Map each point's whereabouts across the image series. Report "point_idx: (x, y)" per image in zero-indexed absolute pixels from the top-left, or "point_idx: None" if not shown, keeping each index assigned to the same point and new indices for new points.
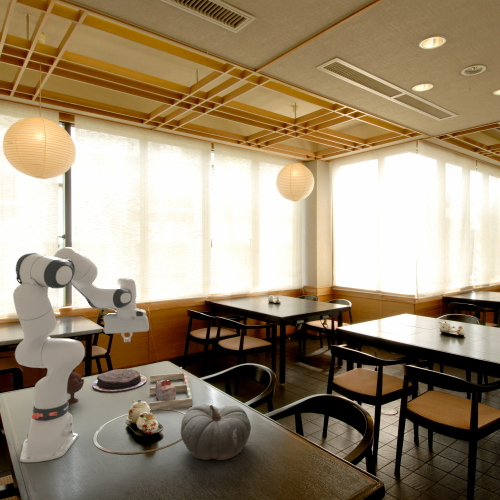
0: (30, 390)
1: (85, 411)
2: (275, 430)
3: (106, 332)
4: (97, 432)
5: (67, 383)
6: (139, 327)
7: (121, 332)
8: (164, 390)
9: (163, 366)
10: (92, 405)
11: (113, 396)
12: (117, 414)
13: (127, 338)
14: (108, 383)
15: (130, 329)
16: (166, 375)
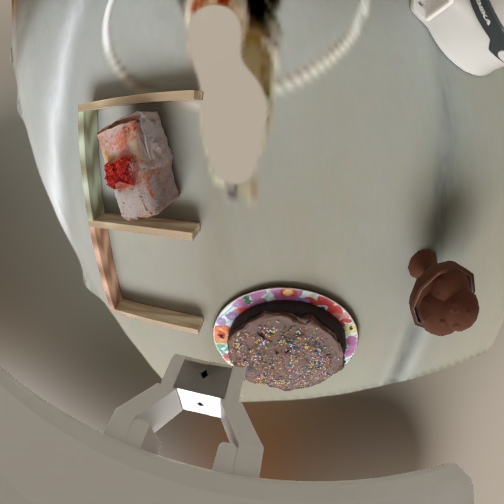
0: (460, 353)
1: (404, 171)
2: (20, 5)
3: (455, 474)
4: (363, 5)
5: (466, 278)
6: (5, 427)
7: (254, 482)
8: (129, 122)
9: None
10: (381, 211)
11: (314, 258)
12: (309, 98)
13: (193, 391)
14: (322, 324)
15: (101, 473)
16: (155, 318)
